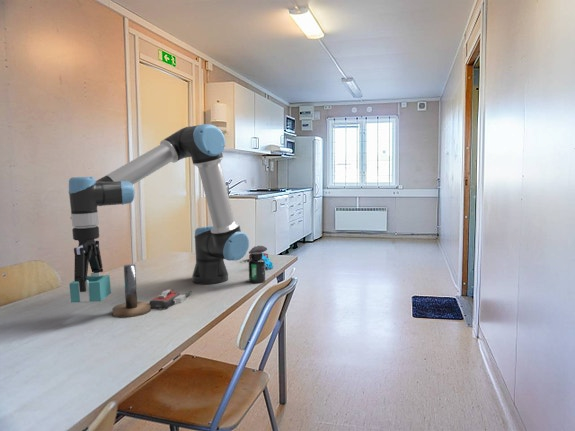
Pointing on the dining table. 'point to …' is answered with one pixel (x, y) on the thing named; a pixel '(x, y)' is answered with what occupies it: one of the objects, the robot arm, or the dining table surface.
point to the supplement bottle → (256, 268)
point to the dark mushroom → (258, 250)
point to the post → (130, 286)
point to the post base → (131, 310)
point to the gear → (267, 261)
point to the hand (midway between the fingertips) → (91, 296)
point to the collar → (92, 288)
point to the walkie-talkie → (167, 299)
